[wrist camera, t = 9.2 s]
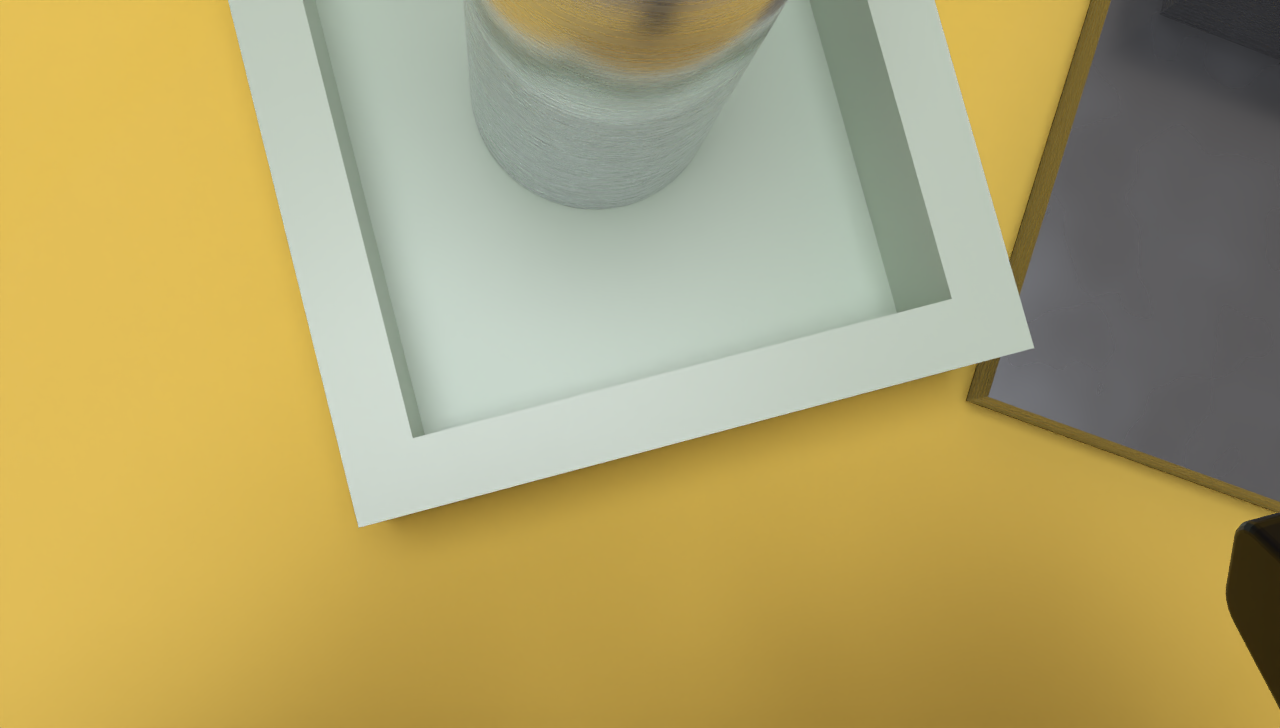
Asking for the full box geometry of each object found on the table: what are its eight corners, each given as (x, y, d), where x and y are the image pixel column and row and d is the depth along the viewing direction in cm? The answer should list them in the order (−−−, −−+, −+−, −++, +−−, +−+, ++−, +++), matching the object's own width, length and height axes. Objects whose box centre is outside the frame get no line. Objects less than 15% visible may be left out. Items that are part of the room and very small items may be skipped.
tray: (950, 369, 21) (1034, 348, 18) (387, 518, 20) (358, 527, 17) (770, -270, 22) (816, -410, 19) (217, -161, 21) (156, -289, 17)
